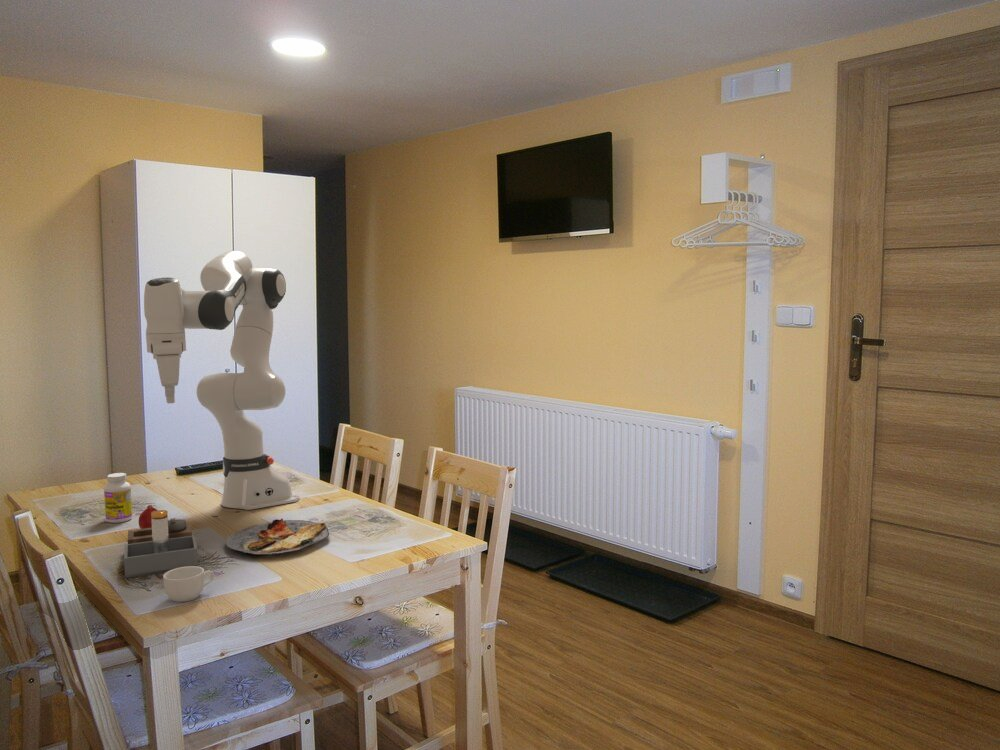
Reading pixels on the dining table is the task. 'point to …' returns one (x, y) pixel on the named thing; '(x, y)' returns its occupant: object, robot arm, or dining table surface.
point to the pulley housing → (174, 531)
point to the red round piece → (146, 517)
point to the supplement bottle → (117, 499)
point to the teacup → (185, 583)
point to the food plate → (278, 536)
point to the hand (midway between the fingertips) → (170, 400)
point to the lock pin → (160, 531)
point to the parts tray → (159, 557)
